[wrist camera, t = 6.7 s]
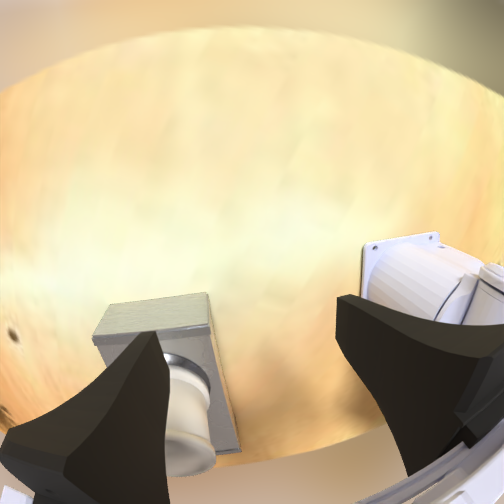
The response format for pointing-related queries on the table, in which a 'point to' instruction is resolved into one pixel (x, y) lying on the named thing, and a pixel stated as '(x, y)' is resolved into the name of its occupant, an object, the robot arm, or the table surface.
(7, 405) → the table surface
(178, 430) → the white cabinet knob
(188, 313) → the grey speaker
